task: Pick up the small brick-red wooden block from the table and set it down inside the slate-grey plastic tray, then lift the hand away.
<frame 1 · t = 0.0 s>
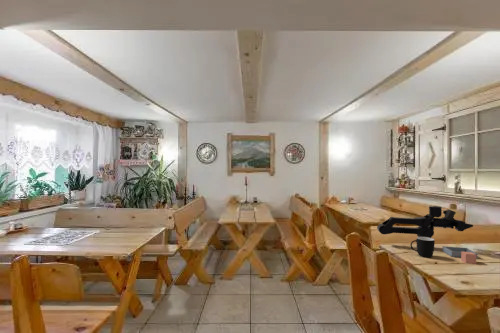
hand: (469, 224, 184), 17 cm above the table, tool horizontal, fingers open, 9 cm apart
mug: (422, 256, 172), on the table
tray: (459, 254, 175), on the table
red block: (468, 262, 162), on the table
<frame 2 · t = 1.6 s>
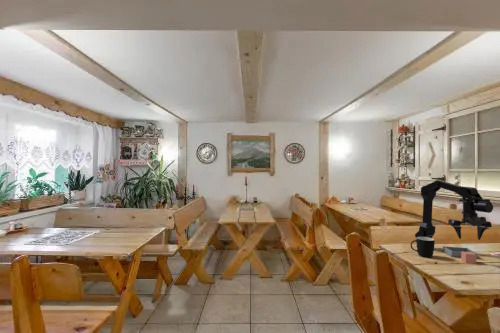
hand: (469, 239, 162), 12 cm above the table, tool pointing down, fingers open, 9 cm apart
nothing on the table moved.
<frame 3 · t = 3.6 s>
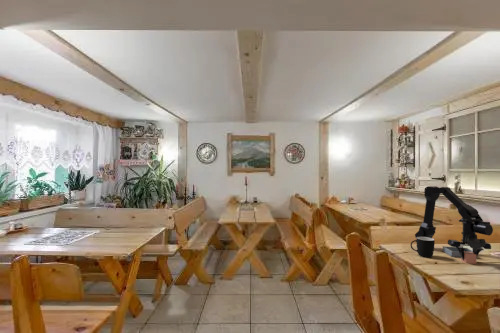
hand: (468, 260, 162), 1 cm above the table, tool pointing down, fingers closed on red block, 5 cm apart
red block: (468, 262, 162), on the table, touching gripper
everything else where it was.
when the fingers open (4 cm above the table, at t = 7.8 s): red block drops 2 cm, resting on tray.
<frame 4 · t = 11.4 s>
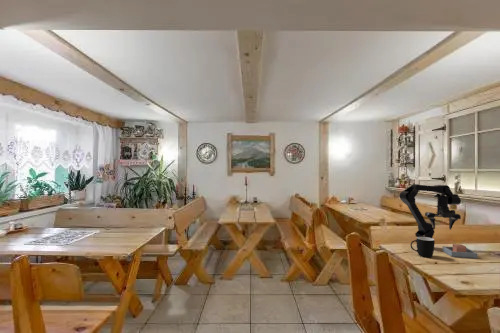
hand: (442, 229, 190), 12 cm above the table, tool pointing down, fingers open, 9 cm apart
red block: (459, 253, 175), point 1 cm above the table, touching tray
everything else where it was.
at the end: red block inside the target area on the tray (0.0 cm from its centre), point 0.6 cm above the tray's base; the gripper is holding nothing; red block tilted 0° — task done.
